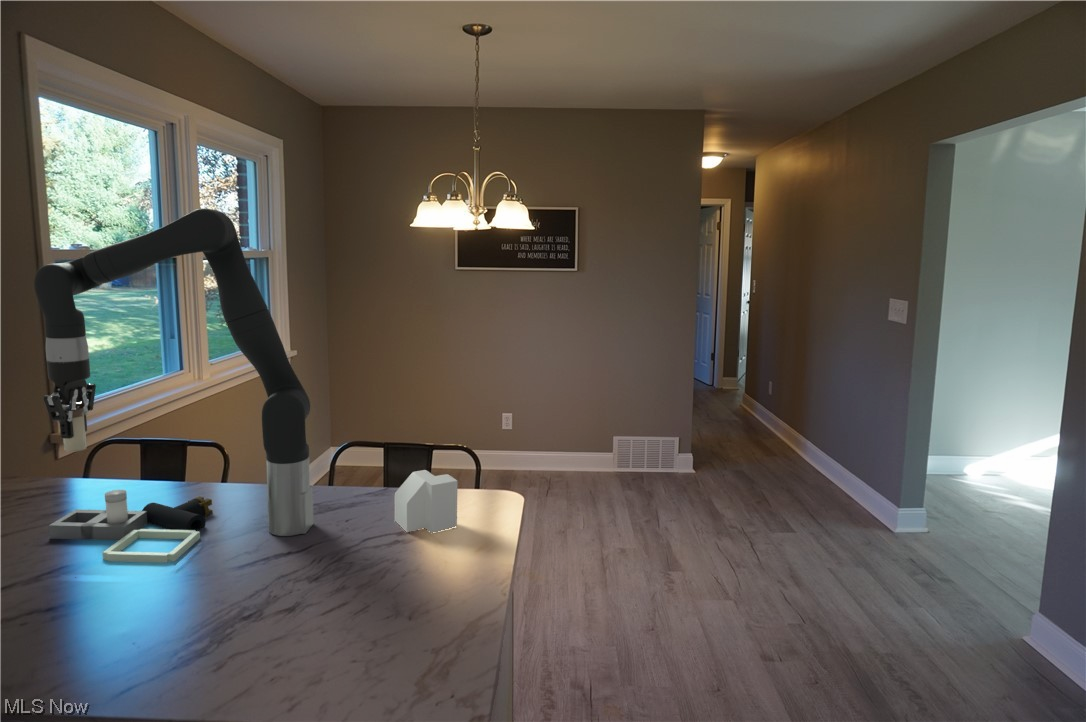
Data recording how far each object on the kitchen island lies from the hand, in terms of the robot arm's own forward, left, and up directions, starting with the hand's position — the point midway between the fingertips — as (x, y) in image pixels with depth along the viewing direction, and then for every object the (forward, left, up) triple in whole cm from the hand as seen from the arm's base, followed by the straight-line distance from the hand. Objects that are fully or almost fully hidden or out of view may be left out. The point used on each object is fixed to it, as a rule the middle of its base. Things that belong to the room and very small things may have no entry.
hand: (74, 434), depth 150 cm
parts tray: (-20, +8, -23) cm, 32 cm away
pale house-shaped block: (-75, -10, -23) cm, 79 cm away
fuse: (-8, 0, -22) cm, 24 cm away
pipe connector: (-19, -7, -24) cm, 31 cm away
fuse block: (-4, 0, -23) cm, 23 cm away
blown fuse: (0, 0, -3) cm, 3 cm away
